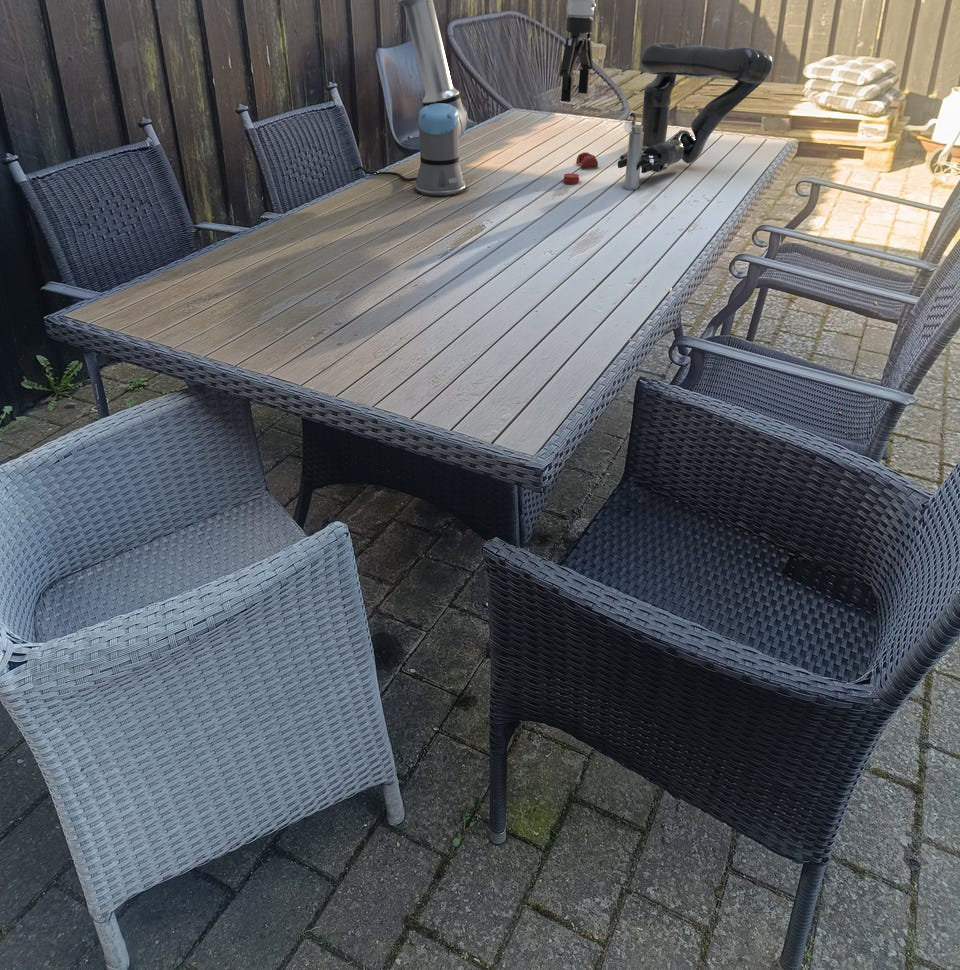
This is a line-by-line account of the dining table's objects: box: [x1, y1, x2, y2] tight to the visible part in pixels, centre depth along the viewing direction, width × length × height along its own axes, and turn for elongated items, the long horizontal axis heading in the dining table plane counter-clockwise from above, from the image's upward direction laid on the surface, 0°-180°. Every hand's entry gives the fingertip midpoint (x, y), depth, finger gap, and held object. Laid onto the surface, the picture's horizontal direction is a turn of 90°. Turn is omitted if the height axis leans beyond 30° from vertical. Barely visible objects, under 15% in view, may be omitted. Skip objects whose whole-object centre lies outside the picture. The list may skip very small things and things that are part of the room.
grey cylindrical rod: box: [623, 124, 644, 191], centre depth 255 cm, size 4×4×18 cm
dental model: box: [575, 151, 599, 169], centre depth 278 cm, size 6×4×8 cm
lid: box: [563, 172, 580, 185], centre depth 264 cm, size 5×5×2 cm
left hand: (574, 97), depth 251 cm, fingers open, 13 cm apart
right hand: (630, 167), depth 256 cm, fingers open, 8 cm apart
